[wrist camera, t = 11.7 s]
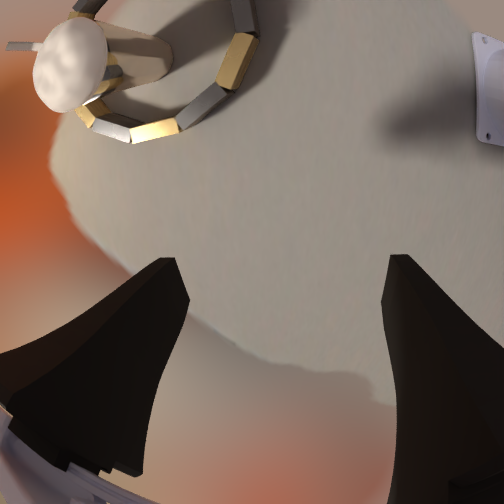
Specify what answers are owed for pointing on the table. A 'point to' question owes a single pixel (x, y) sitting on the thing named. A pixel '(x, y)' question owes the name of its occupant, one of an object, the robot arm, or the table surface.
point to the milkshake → (93, 62)
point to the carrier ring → (201, 106)
